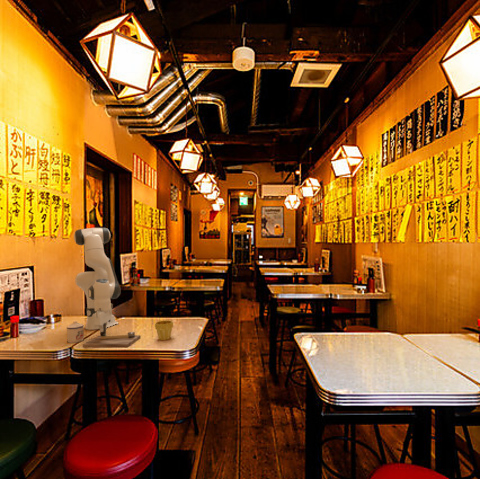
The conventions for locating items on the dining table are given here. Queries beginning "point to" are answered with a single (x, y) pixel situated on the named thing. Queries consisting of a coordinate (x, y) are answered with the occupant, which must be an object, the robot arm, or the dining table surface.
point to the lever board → (111, 342)
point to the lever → (104, 336)
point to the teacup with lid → (75, 332)
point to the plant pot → (164, 329)
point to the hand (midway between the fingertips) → (103, 330)
